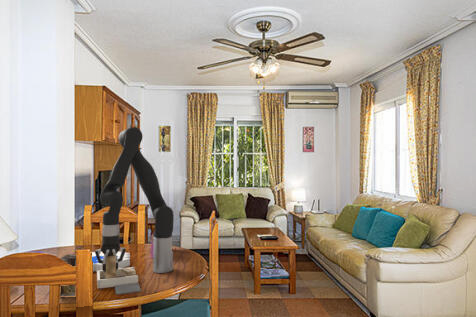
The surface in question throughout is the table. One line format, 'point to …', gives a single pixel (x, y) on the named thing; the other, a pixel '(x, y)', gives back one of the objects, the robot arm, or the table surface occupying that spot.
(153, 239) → the gum box
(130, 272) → the offcut upper
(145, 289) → the table surface
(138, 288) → the mat
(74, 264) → the coffee box
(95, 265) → the pixel art tile
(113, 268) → the tan upright block
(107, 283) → the u-shaped fence
